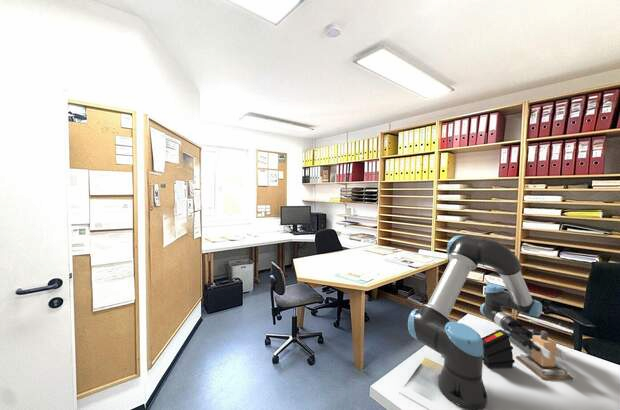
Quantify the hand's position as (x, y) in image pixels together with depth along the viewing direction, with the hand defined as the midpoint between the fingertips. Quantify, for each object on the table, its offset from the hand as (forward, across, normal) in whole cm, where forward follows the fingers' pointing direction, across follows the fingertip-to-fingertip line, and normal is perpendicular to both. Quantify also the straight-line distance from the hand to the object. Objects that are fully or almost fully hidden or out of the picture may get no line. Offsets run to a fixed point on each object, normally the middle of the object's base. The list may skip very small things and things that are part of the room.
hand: (556, 355), depth 94 cm
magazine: (-6, +19, -9) cm, 22 cm away
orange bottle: (-5, 0, -6) cm, 8 cm away
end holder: (-5, 0, -9) cm, 11 cm away
